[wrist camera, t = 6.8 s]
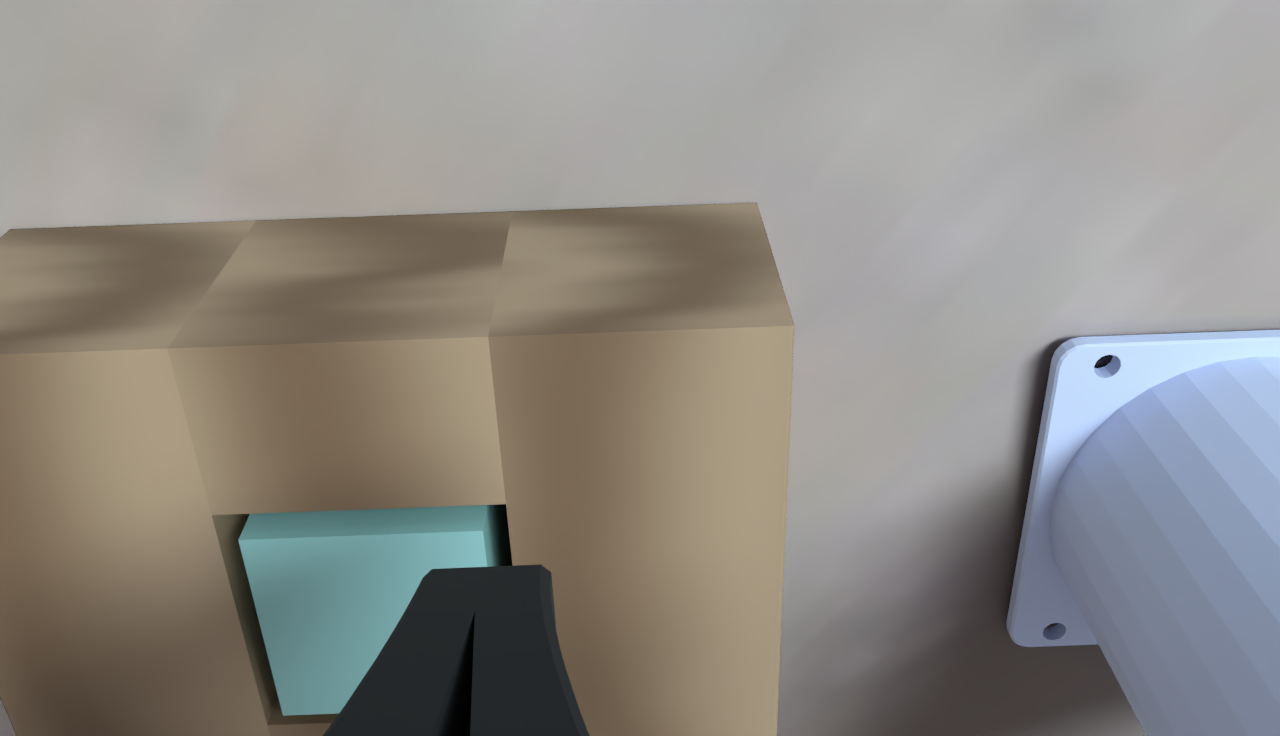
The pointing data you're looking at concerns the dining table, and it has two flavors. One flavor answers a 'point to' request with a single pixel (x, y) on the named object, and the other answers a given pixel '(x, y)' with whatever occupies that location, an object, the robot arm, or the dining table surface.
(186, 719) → the socket block
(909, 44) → the dining table surface
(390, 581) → the peg square
